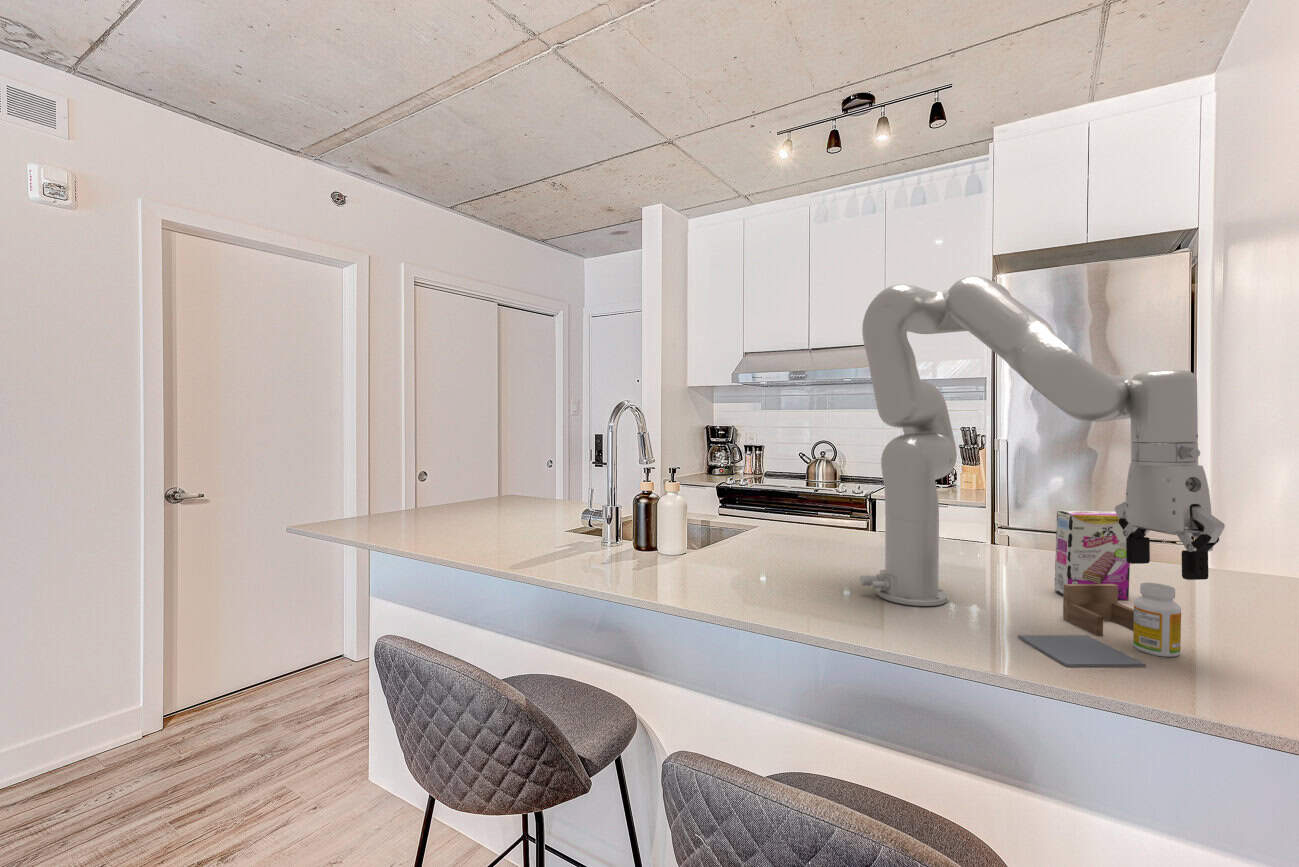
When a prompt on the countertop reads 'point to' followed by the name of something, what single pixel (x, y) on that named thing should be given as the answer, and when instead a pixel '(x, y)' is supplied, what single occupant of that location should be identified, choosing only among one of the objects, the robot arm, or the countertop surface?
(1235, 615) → the countertop surface
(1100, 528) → the candy bar box
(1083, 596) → the shelf slot
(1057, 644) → the slate mat
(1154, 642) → the supplement bottle
